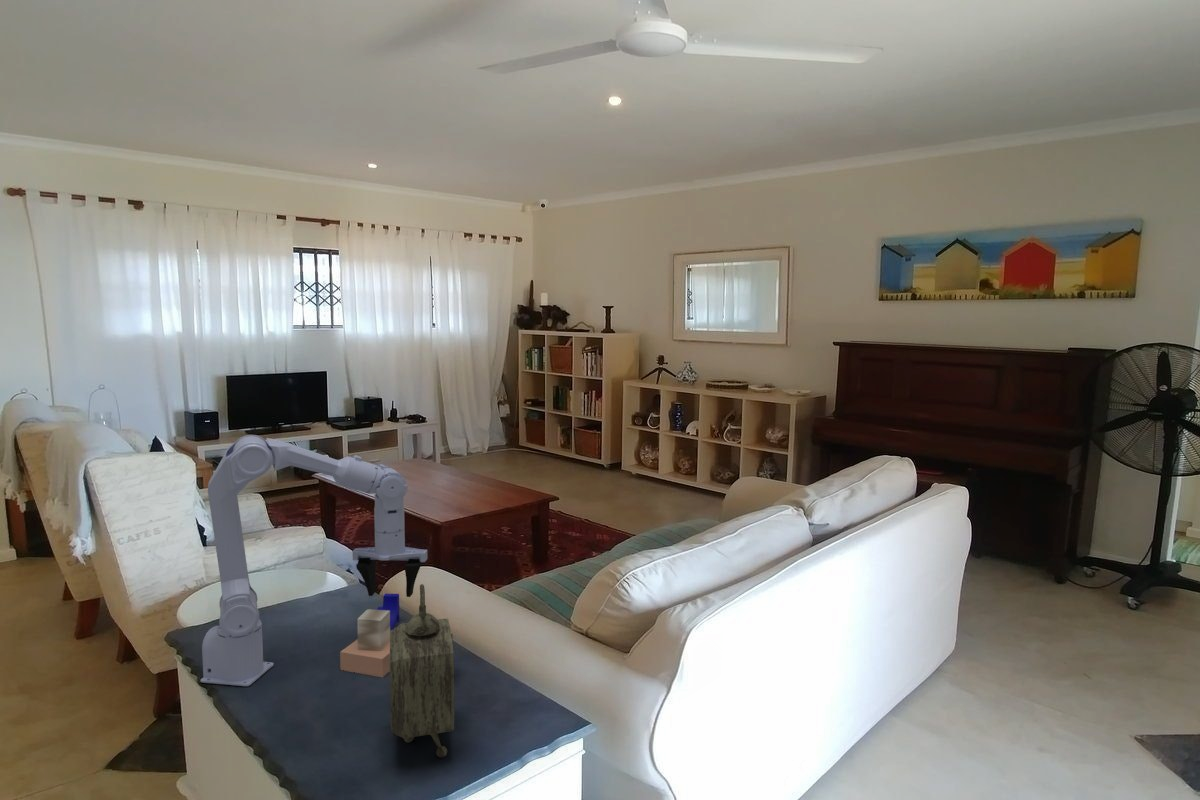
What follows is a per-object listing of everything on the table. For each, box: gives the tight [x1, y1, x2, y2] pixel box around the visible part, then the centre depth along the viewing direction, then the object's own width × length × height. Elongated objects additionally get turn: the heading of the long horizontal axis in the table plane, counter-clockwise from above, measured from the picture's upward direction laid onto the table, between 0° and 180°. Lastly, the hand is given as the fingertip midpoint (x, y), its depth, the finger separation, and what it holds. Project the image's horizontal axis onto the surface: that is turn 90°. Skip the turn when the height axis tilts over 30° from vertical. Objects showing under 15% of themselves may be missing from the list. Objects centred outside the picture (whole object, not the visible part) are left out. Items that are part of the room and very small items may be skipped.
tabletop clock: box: [389, 584, 455, 759], centre depth 107 cm, size 14×9×25 cm, turn 17°
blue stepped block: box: [376, 593, 400, 631], centre depth 145 cm, size 12×4×6 cm, turn 2°
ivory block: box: [356, 608, 390, 651], centre depth 131 cm, size 4×4×6 cm
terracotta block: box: [339, 638, 390, 678], centre depth 132 cm, size 9×9×4 cm
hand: (390, 594), depth 139 cm, fingers open, 7 cm apart
